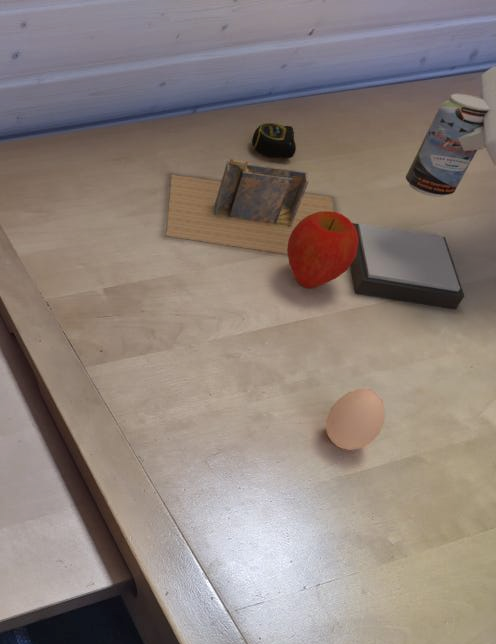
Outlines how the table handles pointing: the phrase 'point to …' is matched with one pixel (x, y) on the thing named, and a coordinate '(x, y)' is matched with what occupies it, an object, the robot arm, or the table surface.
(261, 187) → the architectural model on board
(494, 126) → the robot arm
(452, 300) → the scale
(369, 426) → the egg
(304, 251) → the apple
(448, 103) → the beverage can
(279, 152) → the tape measure
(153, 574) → the table surface
